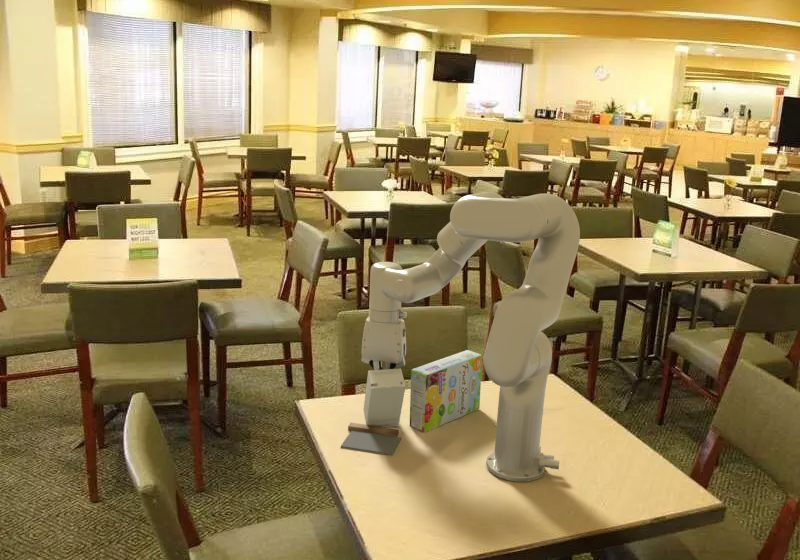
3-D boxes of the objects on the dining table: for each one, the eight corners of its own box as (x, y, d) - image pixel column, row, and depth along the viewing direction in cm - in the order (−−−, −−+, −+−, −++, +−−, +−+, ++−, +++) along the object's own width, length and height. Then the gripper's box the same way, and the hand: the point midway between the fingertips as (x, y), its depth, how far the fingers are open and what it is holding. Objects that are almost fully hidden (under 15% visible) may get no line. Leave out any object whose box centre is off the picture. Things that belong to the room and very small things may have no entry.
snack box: (463, 402, 196) (467, 348, 193) (480, 409, 193) (484, 354, 189) (407, 426, 182) (410, 367, 178) (424, 434, 178) (427, 374, 174)
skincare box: (394, 408, 185) (403, 367, 176) (398, 427, 181) (407, 386, 171) (361, 410, 183) (367, 368, 174) (364, 429, 179) (371, 387, 169)
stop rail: (399, 434, 177) (399, 429, 177) (397, 438, 175) (397, 433, 175) (350, 427, 180) (350, 422, 179) (348, 430, 178) (348, 425, 177)
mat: (401, 438, 175) (401, 437, 175) (392, 455, 167) (392, 453, 167) (351, 431, 177) (351, 429, 177) (340, 447, 169) (340, 445, 169)
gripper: (419, 313, 178) (415, 385, 183) (359, 306, 182) (357, 377, 186) (412, 322, 171) (408, 397, 176) (349, 315, 175) (347, 388, 179)
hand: (382, 386), depth 181 cm, fingers closed
